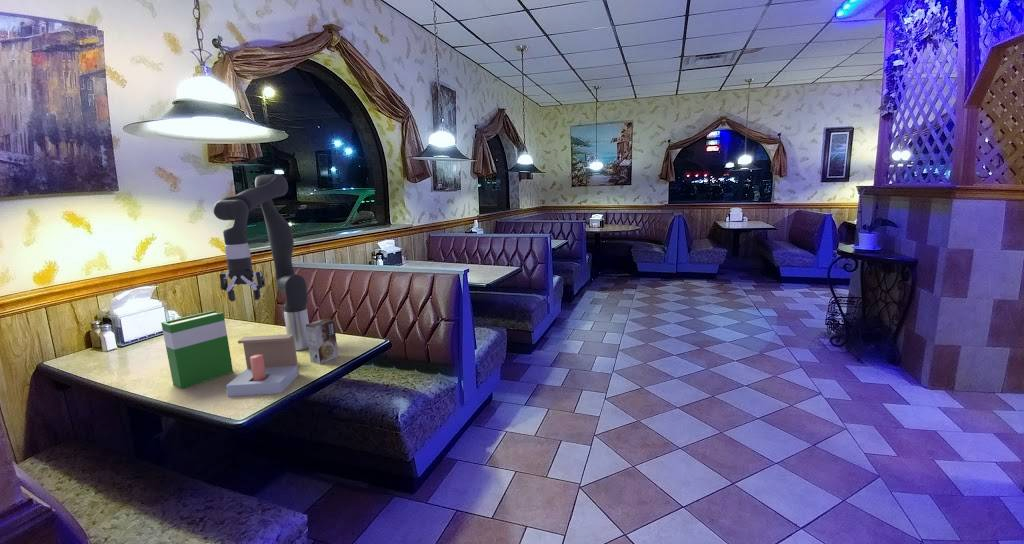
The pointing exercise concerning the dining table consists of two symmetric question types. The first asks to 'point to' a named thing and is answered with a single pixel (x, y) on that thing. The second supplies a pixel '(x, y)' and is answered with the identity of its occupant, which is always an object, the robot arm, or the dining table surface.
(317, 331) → the coffee box
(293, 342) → the socket
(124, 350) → the dining table surface
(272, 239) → the robot arm
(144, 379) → the dining table surface
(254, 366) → the peg
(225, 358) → the hardback book
